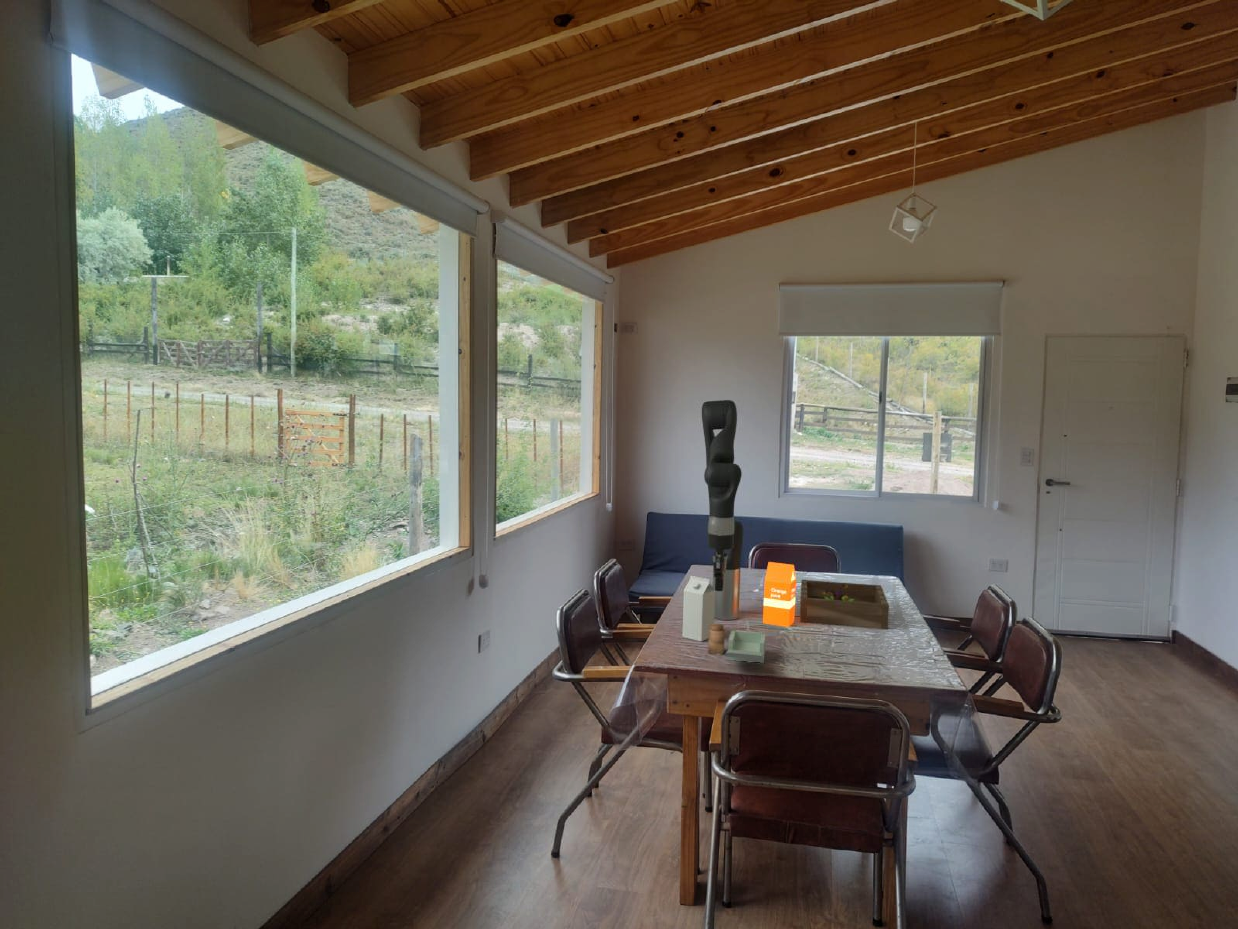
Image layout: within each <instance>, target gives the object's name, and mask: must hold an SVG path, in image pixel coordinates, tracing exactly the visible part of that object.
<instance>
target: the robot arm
mask: <svg viewBox="0 0 1238 929" xmlns="http://www.w3.org/2000/svg"><path fill="white" fill-rule="evenodd" d="M737 410H738V409H737V406H736V403H735V402H734V401H733V400H731V399H722V400H720V399H719V400H711V401H709V400H708V401H704V402H703V403H702V406H701V420H702V428H703V429H702V430H703V437H704V446H705V459H706V460H705V463H706V465H705V466H706V467H705V470H704V474H703V476H704V477H703V478H704V482H705V484H706V485H707V491H708V504H709V506H708V507H709V509H708V510H709V516H708V517H709V518H708V523H707V524H708V526H707V547H708V548H709V549H713V550H715V552H714V553H713V554H712V562H713V563H712V586H713V588H714V589H715V615H714V619H715V620H723V621H732V620H737V619H739V617H740V611H739V610H740V595H741V594H740V593H741V592H740V591H741V587H740V586H741V566H742V554H743V540H744V525H743V523H742V521H740V520H735V501H736V496H737V492H738V489H739V486H740V484H741V479H742V474H743V473H742V469H741V466H740V465H739V464H737V463H735V449H734V448H735V447H734V445H735V438H736V432H737V422H738V411H737ZM715 430H717V431H718V430H720V431H719V433H717V434H716V435H715V432H714V431H715ZM726 551H729V552H728V553H726Z"/></svg>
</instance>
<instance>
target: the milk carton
mask: <svg viewBox="0 0 1238 929" xmlns="http://www.w3.org/2000/svg"><path fill="white" fill-rule="evenodd" d="M710 580H711V579H710V578H704V577H701V576H694V575H690V578H689V581H688V582H687V584H686V586H685V588H684V589H683V601H682V603H683V610H682V638H686V639H689V640H693V641H697V642H704V641H706V640H709V628H711V624H715V618H714V615H715V589H714V588H713V584H711V582H710Z"/></svg>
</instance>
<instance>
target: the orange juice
mask: <svg viewBox="0 0 1238 929" xmlns="http://www.w3.org/2000/svg"><path fill="white" fill-rule="evenodd" d="M763 589H764V591H763V611H762V616H763V617H762V624H767V625H774V626H779V627H785V628H786V627H787V628H789V627H790V626H792V625H793V623H794V622H795V613H796V612H795V611H796V593H797V592H796V591H797V576H796V571H795V565H794V564H788V563H780V562H774V561H773V562H772V561H768V564H767V568H766V573H765V577H764V588H763Z"/></svg>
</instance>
